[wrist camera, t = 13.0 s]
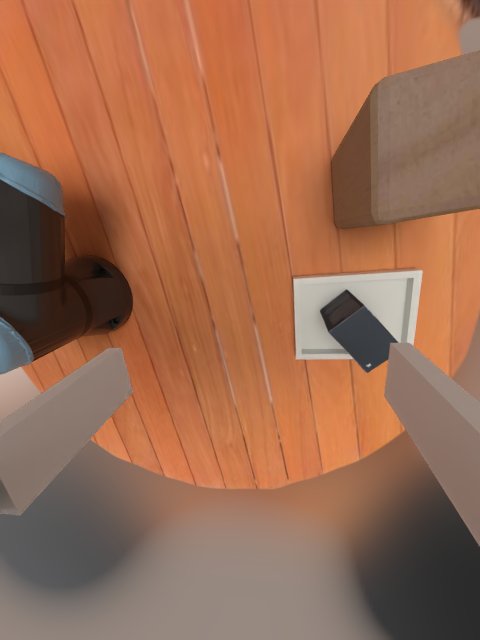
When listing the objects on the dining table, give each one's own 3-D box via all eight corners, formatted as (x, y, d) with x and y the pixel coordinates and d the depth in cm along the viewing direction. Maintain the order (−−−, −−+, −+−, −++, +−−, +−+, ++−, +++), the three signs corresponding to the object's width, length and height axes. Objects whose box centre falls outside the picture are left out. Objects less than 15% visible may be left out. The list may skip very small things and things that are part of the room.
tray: (295, 352, 46) (296, 359, 44) (293, 276, 42) (293, 279, 40) (404, 351, 43) (411, 358, 40) (413, 267, 39) (422, 270, 36)
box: (377, 322, 41) (405, 349, 31) (348, 342, 43) (366, 374, 33) (346, 287, 40) (365, 304, 31) (318, 310, 42) (327, 333, 33)
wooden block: (406, 217, 37) (527, 200, 18) (333, 229, 39) (375, 226, 20) (408, 138, 34) (555, 20, 15) (329, 156, 36) (374, 73, 17)
